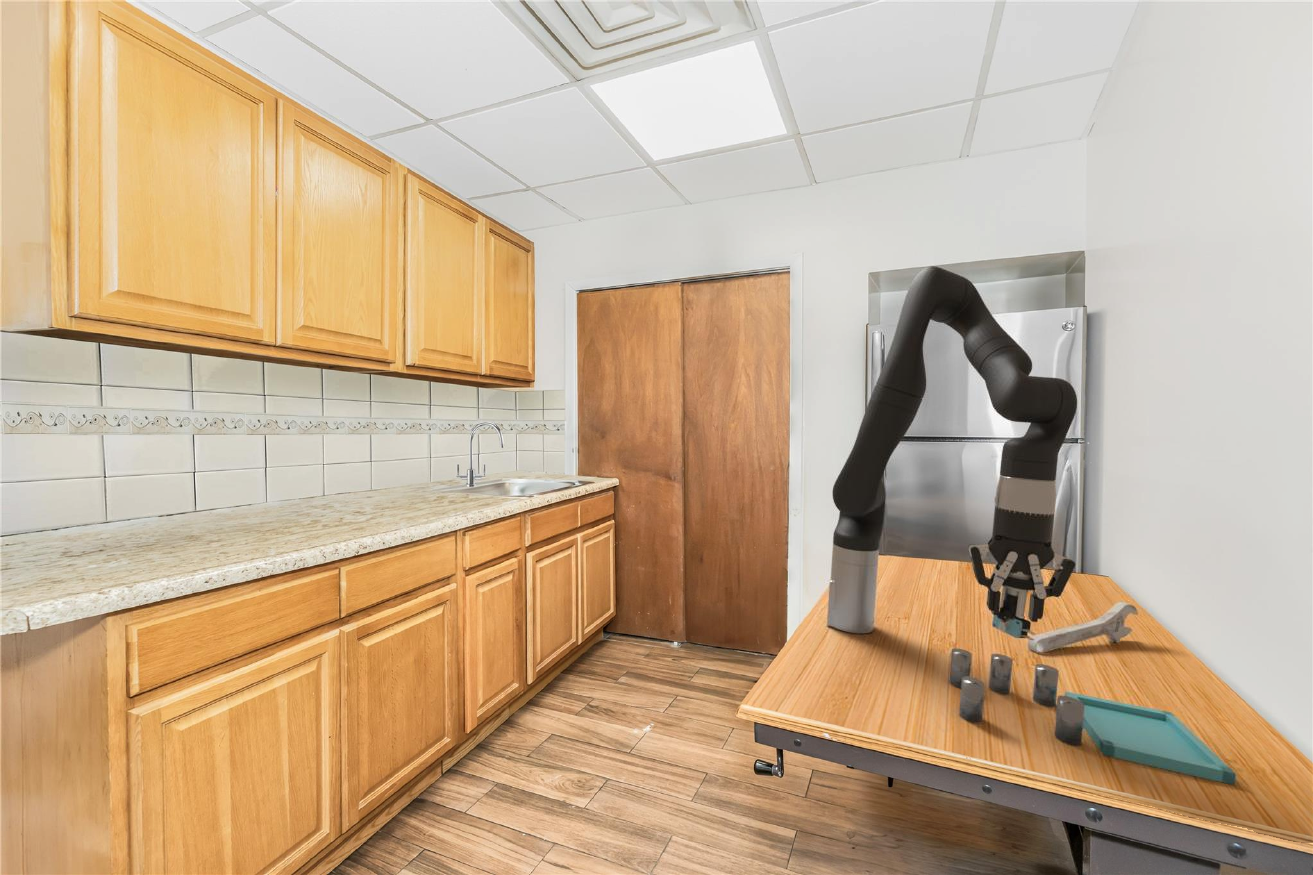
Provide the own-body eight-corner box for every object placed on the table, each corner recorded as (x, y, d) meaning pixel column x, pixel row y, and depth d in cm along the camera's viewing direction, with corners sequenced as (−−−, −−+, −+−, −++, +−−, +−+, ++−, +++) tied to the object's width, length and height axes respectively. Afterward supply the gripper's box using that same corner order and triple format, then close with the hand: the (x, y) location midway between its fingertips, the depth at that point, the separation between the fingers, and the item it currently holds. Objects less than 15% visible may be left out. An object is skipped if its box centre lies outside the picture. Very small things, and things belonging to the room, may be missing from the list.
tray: (1102, 754, 72) (1103, 743, 72) (1064, 700, 86) (1065, 691, 86) (1234, 785, 67) (1235, 773, 67) (1170, 722, 81) (1171, 712, 81)
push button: (1046, 643, 79) (1055, 578, 79) (1017, 643, 78) (1026, 576, 78) (1008, 625, 86) (1016, 564, 85) (980, 625, 85) (989, 563, 84)
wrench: (1027, 664, 106) (1128, 635, 115) (1036, 668, 104) (1138, 638, 113) (1026, 625, 105) (1128, 599, 115) (1035, 628, 104) (1138, 602, 113)
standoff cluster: (960, 719, 79) (963, 683, 78) (947, 675, 93) (949, 644, 92) (1084, 748, 73) (1088, 709, 73) (1050, 696, 87) (1053, 663, 87)
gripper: (974, 504, 80) (964, 615, 81) (1090, 517, 75) (1078, 636, 76) (966, 498, 87) (957, 600, 88) (1072, 509, 82) (1061, 618, 83)
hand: (1013, 616), depth 82 cm, fingers closed on push button, 4 cm apart
